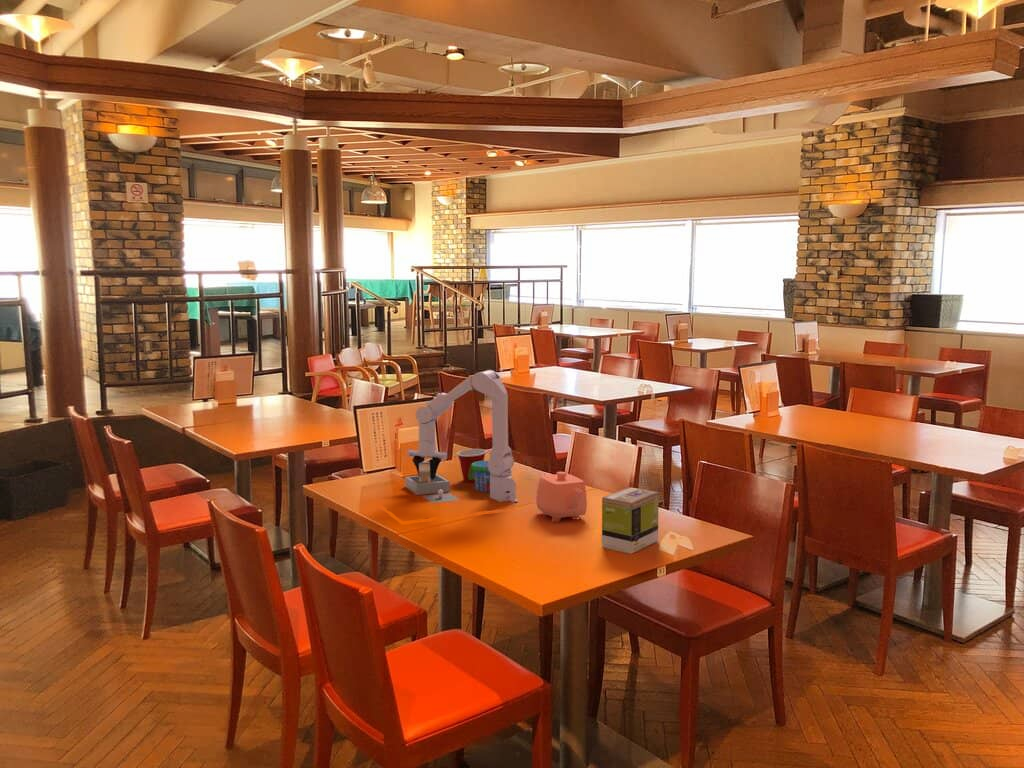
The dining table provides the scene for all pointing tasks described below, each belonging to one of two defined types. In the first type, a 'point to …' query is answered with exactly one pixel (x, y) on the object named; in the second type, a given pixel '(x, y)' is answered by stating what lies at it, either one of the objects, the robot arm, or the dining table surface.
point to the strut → (425, 472)
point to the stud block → (440, 497)
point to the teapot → (561, 496)
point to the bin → (426, 485)
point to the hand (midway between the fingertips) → (427, 477)
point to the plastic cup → (470, 461)
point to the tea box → (629, 520)
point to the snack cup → (480, 475)
